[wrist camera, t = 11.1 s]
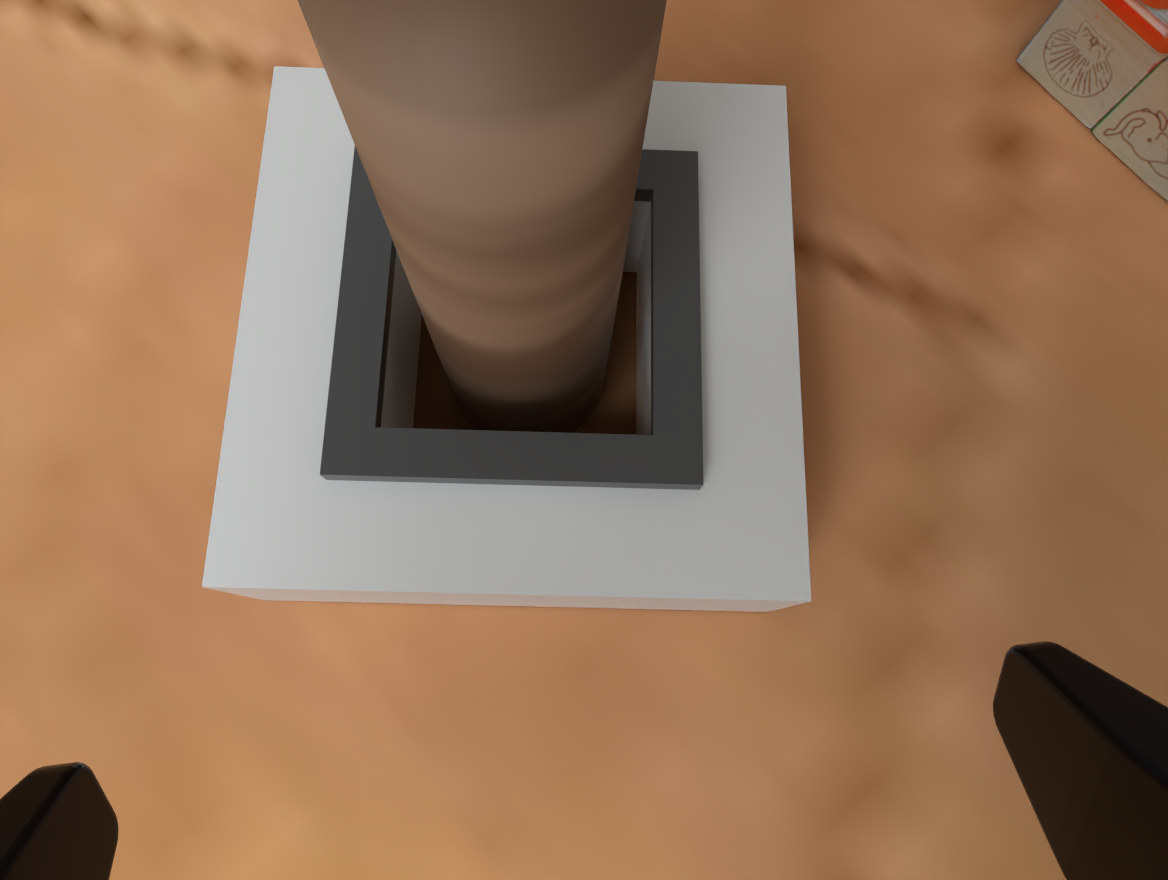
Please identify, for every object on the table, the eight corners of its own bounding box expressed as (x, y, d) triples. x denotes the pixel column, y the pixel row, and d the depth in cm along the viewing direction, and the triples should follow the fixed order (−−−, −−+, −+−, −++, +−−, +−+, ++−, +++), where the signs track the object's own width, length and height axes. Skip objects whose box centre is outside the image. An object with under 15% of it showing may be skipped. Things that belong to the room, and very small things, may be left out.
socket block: (768, 611, 20) (818, 599, 16) (263, 599, 20) (190, 584, 16) (752, 170, 23) (791, 71, 19) (316, 155, 23) (267, 51, 19)
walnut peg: (564, 470, 21) (571, 173, 8) (421, 404, 21) (217, 20, 8) (630, 336, 22) (729, -116, 9) (493, 274, 22) (405, -243, 9)
